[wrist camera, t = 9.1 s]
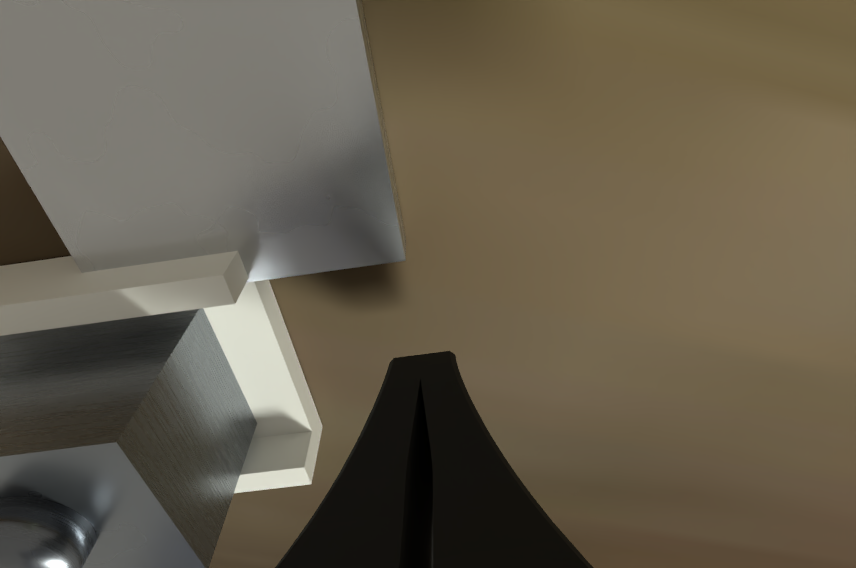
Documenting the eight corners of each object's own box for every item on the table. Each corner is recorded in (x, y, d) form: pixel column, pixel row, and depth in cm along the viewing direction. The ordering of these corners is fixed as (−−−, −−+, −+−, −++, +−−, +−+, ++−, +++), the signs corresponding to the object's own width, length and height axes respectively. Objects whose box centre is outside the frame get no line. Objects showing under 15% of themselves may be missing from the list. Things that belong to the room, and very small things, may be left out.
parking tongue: (405, 239, 12) (405, 260, 11) (121, 279, 12) (99, 303, 11) (335, -143, 8) (325, -156, 7) (-72, -69, 8) (-124, -73, 8)
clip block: (257, 423, 14) (193, 613, 10) (84, 445, 14) (-49, 638, 10) (201, 305, 12) (89, 484, 8) (-1, 333, 12) (-213, 520, 8)
